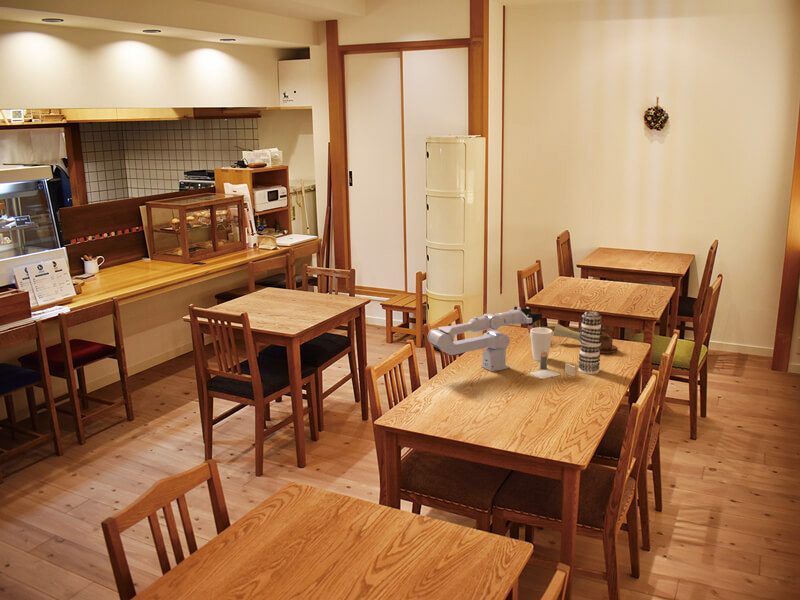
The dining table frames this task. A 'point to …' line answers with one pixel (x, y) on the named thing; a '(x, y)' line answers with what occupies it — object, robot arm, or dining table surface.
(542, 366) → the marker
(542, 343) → the foam cup
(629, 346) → the dining table surface
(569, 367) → the rectangular block
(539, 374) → the paper
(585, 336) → the decorative candle
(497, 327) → the robot arm
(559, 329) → the flower vase
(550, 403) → the dining table surface
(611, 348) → the cup and saucer
